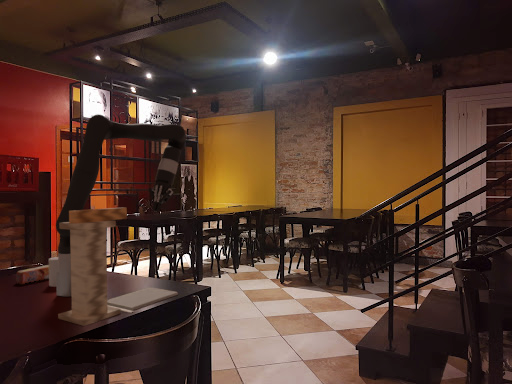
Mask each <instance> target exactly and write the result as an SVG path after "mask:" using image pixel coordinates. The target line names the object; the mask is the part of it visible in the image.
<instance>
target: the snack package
mask: <svg viewBox="0 0 512 384" xmlns="http://www.w3.org/2000/svg"><path fill="white" fill-rule="evenodd" d="M44 279H45V280H49V264H47V265H42V266H37V267H32V268H27V269H21V270H18V271H17V272H16V275H15V281H16V283H17V284H18V283H19V284H18V285H26V284H25V283H27V284H30V283H29V282H31V283H35V282H34V281H36V282H40V281H44ZM39 280H40V281H39Z"/></svg>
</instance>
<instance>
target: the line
mask: <svg viewBox="0 0 512 384" xmlns="http://www.w3.org/2000/svg"><path fill="white" fill-rule="evenodd" d="M107 306H110V305H107ZM110 307H114V306H110ZM114 308H119V307H114ZM119 309H121V312H125V313H127V314H133V313H135V311H134V310H127V309H123V308H119ZM132 312H133V313H132Z"/></svg>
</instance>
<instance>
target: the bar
mask: <svg viewBox="0 0 512 384" xmlns="http://www.w3.org/2000/svg"><path fill="white" fill-rule="evenodd" d="M127 214H128V210H127V207H108V208H94V209H92V208H91V209H83V210H74V211H69V223H86V222H97V221H107V220H110V221H117V220H127V218H128V215H127Z"/></svg>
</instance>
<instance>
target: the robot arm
mask: <svg viewBox="0 0 512 384" xmlns="http://www.w3.org/2000/svg"><path fill="white" fill-rule="evenodd" d="M85 127H86V128H85V132H84V137H83V142H82V146H81V148H80V151H79V153H78V158H77V159H76V160H77V161H76V162H75V166H74V169H73V172H72V175H71V179H70V181H69V182H70V183H69V185H68V189H67V193H66V194H67V195H66V198H65V201H64V203H63V205H62V208H61V210H60V212H59V215H58V217H57V219H56V222H55V230H56V231H57V233H58V234H59V241H58V247H57V257H58V272H56V285H57V287H56V296H58V297H72V294H71V247H70V230H69V229H59V223H63V222H69V211H74V210H84V208H85V205H86V203H87V201H88V199H89V197H90V195H91V193H92V192H93V190H94V187H95V185H96V182H97V180H98V177H99V171H100V164H101V162H100V161H101V158H100V157H101V156H100V155H101V149H102V147H103V143H104V141H105V140H113V139H128V140H129V139H130V140H140V141H141V140H142V141H148V142H161V141H163V140H166V141H167V140H168V143H167V146H166V147H164V150H163V152H162V156H161V159H160V162H159V164H158V167H157V171H156V175H155V177H154V179H155V183H154V185H153V187H149V188H148V191H149V196H150V199H151V200H152V201H153V205H152V211H153V212H155V213H159V212H160V210H161V208H162V204H164V203H165V204H166V203H167V202H168V201H169V200H170V199H171V198H172V196H174V194H175V191H173V190H172V185H174V182H175V179H176V175H177V171H178V167H179V166H178V165H179V162H180V157H181V153H182V151H183V149H184V146H185V143H186V141H187V140H186V139H187V135H186V134H187V133H186V131H185V128H184V127H183V126H182V125H180V124H176V123H170V124H168V123H165V124H155V123H154V124H153V123H130V124H129V123H120V122H117V121H112V120H110V119H109V118H108V117H106V116H104V115H102V114H95V115H92V116H91V117H90V118H89V120H88V121H87V123H86V126H85Z"/></svg>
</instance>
